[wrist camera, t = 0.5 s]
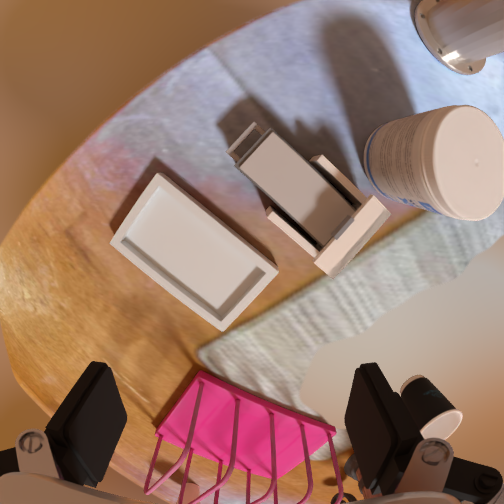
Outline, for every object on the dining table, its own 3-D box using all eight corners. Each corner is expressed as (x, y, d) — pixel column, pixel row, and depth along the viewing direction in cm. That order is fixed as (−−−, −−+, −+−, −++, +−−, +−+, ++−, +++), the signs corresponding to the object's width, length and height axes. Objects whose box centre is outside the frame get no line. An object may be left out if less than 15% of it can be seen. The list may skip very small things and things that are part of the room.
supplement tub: (375, 211, 33) (445, 242, 19) (348, 133, 31) (411, 115, 17) (437, 186, 32) (518, 203, 18) (415, 114, 30) (494, 96, 16)
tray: (162, 172, 32) (157, 172, 30) (277, 266, 35) (279, 272, 33) (116, 239, 34) (109, 243, 32) (224, 324, 37) (222, 332, 35)
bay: (313, 156, 32) (331, 153, 24) (362, 202, 33) (392, 214, 25) (265, 210, 33) (269, 224, 26) (316, 254, 35) (333, 280, 27)
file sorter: (276, 473, 47) (279, 538, 32) (156, 428, 44) (133, 499, 29) (335, 425, 43) (355, 500, 28) (200, 368, 40) (179, 456, 24)
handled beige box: (256, 123, 31) (257, 115, 26) (344, 206, 33) (360, 214, 28) (225, 156, 32) (220, 154, 27) (315, 238, 34) (325, 250, 29)
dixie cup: (394, 409, 42) (416, 455, 32) (388, 381, 40) (414, 429, 30) (433, 389, 41) (461, 430, 31) (431, 359, 39) (464, 401, 29)
